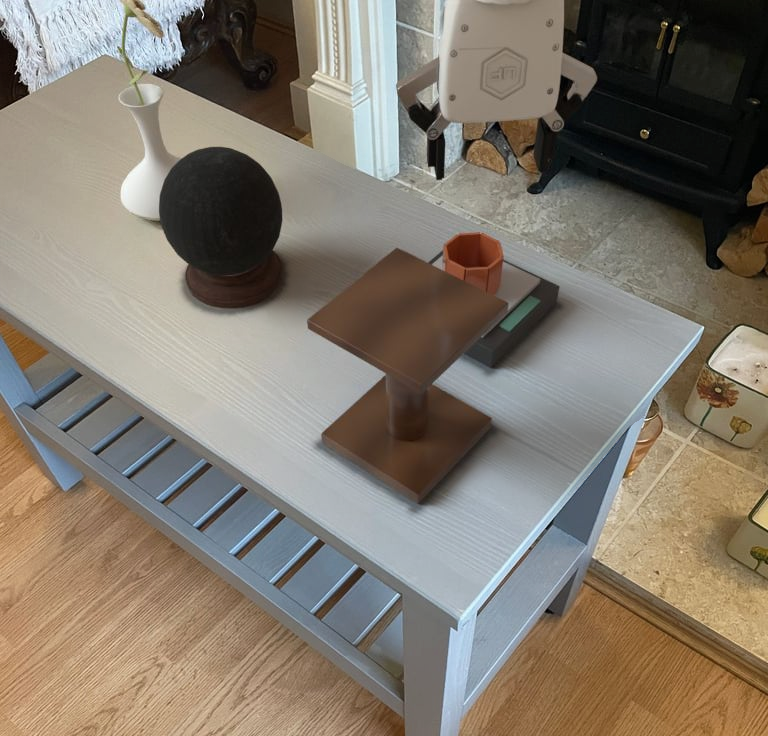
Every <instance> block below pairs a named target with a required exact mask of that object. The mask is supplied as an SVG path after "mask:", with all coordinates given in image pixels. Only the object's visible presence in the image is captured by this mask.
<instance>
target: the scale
mask: <svg viewBox="0 0 768 736" xmlns="http://www.w3.org/2000/svg"><path fill="white" fill-rule="evenodd" d="M442 261H443V249H442V250H441V251H440V252H439V253H437V254H436V255H435V256H434V257H432V259H430V260H429V261H428V262H427V263H429V264H431V265H433V266H435V267H437V268H439V269H441V270H442ZM560 288H561V286H560V285H558V284H556V283H554V282H552V281H550V280H548V279H545V278H543V277H541V276H539V275H537V274H535V273H533V272H531V271H529V270H526V269H524V268H523V267H520V266H518V265H516V264H513V263H512V262H509V261H508V260H505V259H503V266H502V274H501V281H500V286H499V288H498V290H497V292H496V293H495V295H494V296H496V297H498V298H500V299H502V300H504V301H506V302H508V303H509V304H508V311H507V313H506V314H505V315H503V316H502V317H501V318H500V319H499V320H498V321H497V322H496V323H495V324H494V325H493V326H492V327H491V328H490V329H489V330H488V331H487V332H486V333H485V334H484V335H483V336H482V337H480V338H479V339H478V340H477V341H476V342H475V343H474V344H473V345H472V346H471V347H470V348H469V349H468V350H467V351H466V352H465V353H464V354H465V355H466V356H469V357H470V358H471V359H473V360H475V361H477V362H479V363H481V364H482V365H484V366H487V367H488V368H490V369H492V368H493V367H494V366H495V365H496V364H497V363H498V362H499V361H500V360H501V359H502V358H503V357H504V356H505V355H506V354H507V353H508V352H509V351H510V350H511V349H512V348H513V347H514V346H515V345H516V344H517V343H518V342H519V341H520V340H521V339H522V338H523V337H524V336H525V335H526V334H528V332H529V331H530V330H531V329H532V328H533V327H534V326H535V325H536V324H537V323H538V322H539V321H540V320H541V319H542V318H543V317H544V316H545V315H546V314H547V313H548V312H549V311H550V310H551V309H552V308H553V307H554V306H555V305H556V304H557V303H558V302H557V301H558V298H559V292H560ZM464 354H463V355H464Z"/></svg>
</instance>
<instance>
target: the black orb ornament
mask: <svg viewBox="0 0 768 736" xmlns="http://www.w3.org/2000/svg"><path fill="white" fill-rule="evenodd" d="M181 158H182V159H181V160H179V161H178V162H177V163H176V164H175V165H174V166H173V167H172V168H171V170H170V171H169V173H168V175H167V176H166V178H165V180H164V183H163V186H162V189H161V192H160V198H159V216H160V222H159V223H160V225H161V228H162V231H163V234H164V236H165V238H166V241H167V242H168V244H169V245H170V246H171V248H172V249H173V251H174V252H175V253H176V255H177V256H178V257H179V258H181V259H182V260H183V261H184V262H185V263H187V266H186V269H185V275H184V276H185V282H186V286H187V289H188V291H189V292H190V294H191V295H192V296H193V297H194V298H195V299H196V300H197V301H199V302H201V303H203V304H205V305H208V306H210V307H215V308H221V309H236V308H237V309H238V308H244V307H248V306H251V305H254V304H256V303H259V302H261V301H263V300H264V299H266V298H268V297H269V296H270V295H271V294H273V293H274V292H275V291H276V290H277V288H279V286H280V284H281V281H282V278H283V267H282V261H281V259H280V256H278V254H277V253H276V251H274V249H275V246H276V244H277V242H278V241H279V238H280V237H281V230H282V225H283V205H282V201H281V197H280V193H279V190H278V189H277V186H276V184H275V183H274V180H273V178H272V176H271V175H270V174H269V173H268V171H267V170H266V169H265V168H264V167H263V166H262V165H261V164H260V163H259V162H258V161H256V160H255V159H254V158H253V157H251V156H250V155H248V154H246V153H244V152H242V151H239V150H237V149H234V148H231V147H227V146H208V147H204V148H198V149H195V150H193V151H191V152H189V153H187V154H186V155H184V156H183V157H181Z"/></svg>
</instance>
